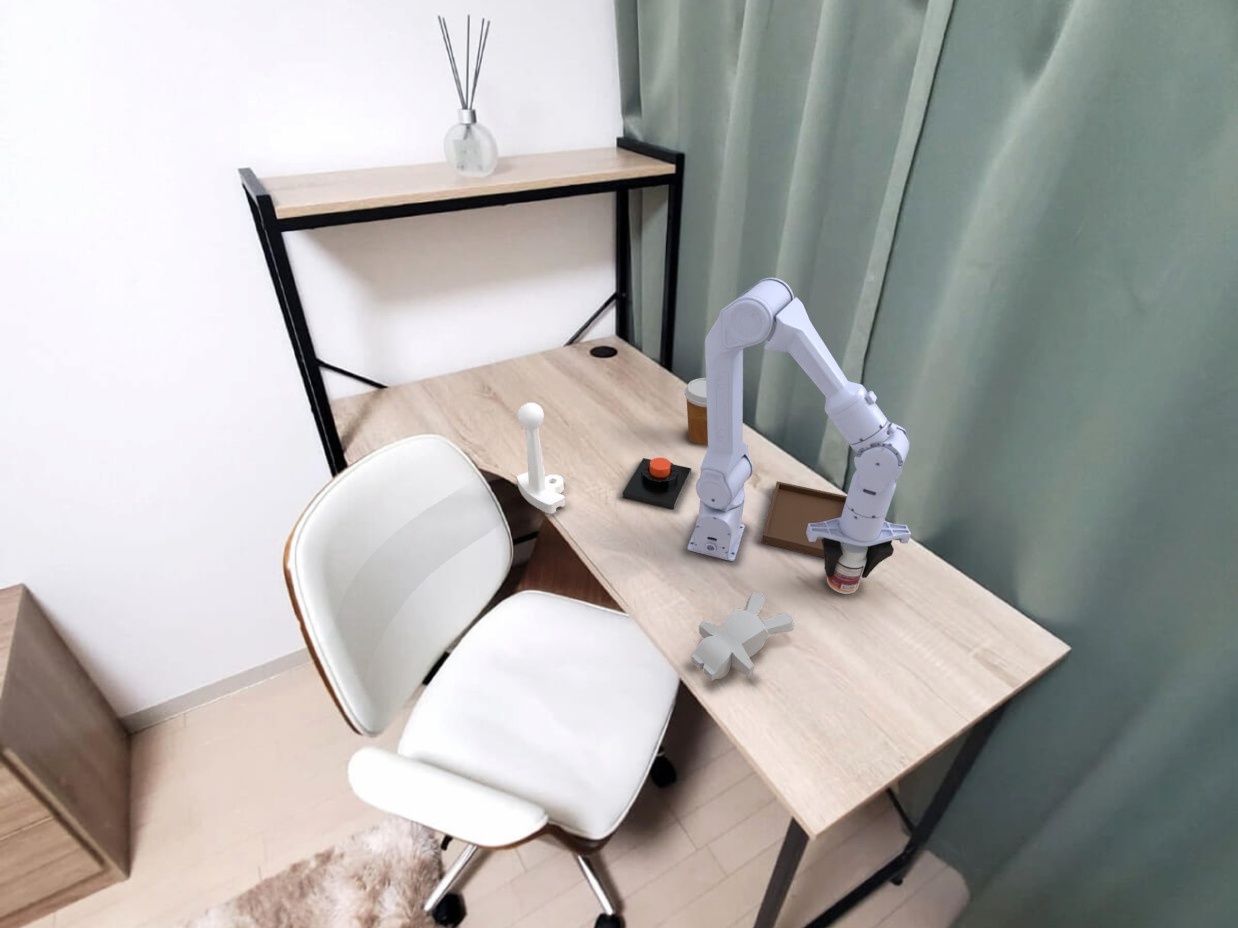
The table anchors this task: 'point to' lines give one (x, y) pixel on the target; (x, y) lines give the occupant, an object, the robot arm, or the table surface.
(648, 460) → the switch block
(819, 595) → the table surface
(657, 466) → the power button
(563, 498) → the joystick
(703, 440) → the disposable coffee cup
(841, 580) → the pill bottle
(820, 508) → the shallow brown tray
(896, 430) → the robot arm
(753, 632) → the bunny figurine
